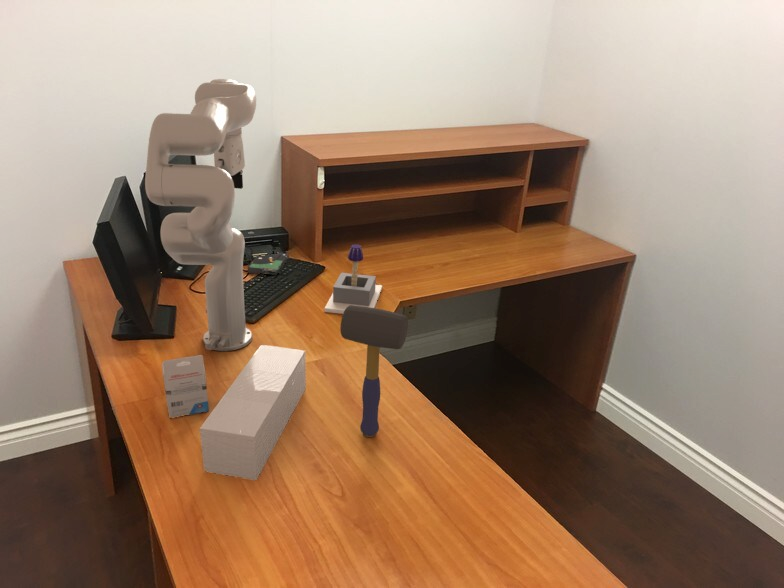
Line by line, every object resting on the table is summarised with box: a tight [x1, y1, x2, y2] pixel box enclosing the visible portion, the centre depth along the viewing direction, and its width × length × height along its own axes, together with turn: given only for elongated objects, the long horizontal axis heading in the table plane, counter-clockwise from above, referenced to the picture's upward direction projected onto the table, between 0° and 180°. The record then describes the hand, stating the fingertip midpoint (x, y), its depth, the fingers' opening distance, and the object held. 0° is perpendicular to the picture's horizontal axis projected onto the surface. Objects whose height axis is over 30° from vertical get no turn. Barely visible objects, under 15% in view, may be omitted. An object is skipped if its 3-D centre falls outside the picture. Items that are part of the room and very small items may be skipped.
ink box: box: [161, 354, 210, 419], centre depth 135 cm, size 8×5×15 cm, turn 114°
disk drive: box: [247, 252, 290, 275], centre depth 212 cm, size 10×3×15 cm
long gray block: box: [199, 344, 307, 481], centre depth 132 cm, size 32×11×11 cm, turn 170°
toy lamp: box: [347, 244, 364, 287], centre depth 188 cm, size 5×5×17 cm
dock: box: [324, 272, 383, 315], centre depth 191 cm, size 20×14×6 cm
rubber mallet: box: [339, 305, 409, 438], centre depth 128 cm, size 12×8×30 cm, turn 73°
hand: (230, 192), depth 170 cm, fingers open, 9 cm apart
